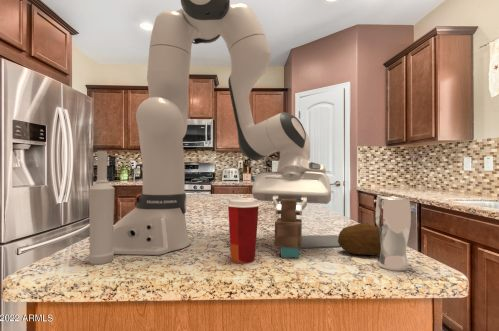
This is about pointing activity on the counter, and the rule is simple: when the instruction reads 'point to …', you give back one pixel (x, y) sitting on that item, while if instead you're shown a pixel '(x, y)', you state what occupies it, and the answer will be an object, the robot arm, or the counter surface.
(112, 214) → the bottle
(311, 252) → the counter surface
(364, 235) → the potato
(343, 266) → the counter surface
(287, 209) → the walnut cover
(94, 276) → the counter surface
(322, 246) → the grey mat
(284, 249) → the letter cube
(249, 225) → the paper cup
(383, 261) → the beer glass
